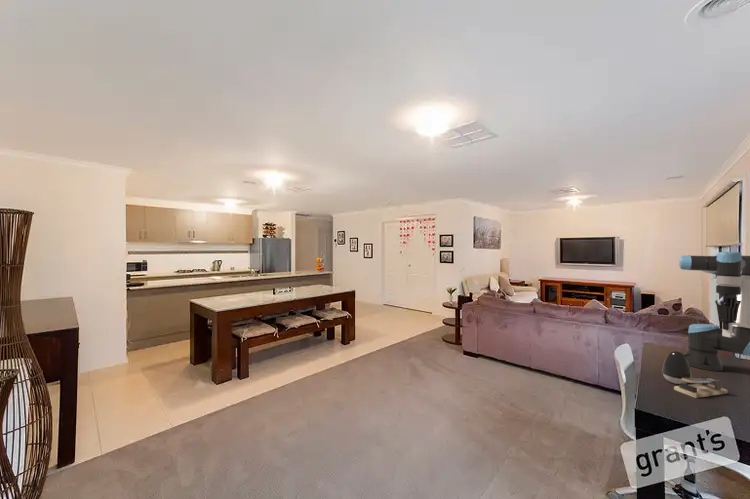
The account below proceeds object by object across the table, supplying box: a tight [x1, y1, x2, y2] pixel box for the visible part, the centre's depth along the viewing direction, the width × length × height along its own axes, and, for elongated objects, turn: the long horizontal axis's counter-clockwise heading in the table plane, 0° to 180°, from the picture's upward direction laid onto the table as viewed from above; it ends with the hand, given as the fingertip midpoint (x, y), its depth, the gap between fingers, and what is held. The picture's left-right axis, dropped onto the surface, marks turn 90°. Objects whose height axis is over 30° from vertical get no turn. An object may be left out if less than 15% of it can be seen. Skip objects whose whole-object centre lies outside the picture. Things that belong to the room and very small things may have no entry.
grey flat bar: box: [682, 377, 716, 384], centre depth 141 cm, size 17×3×1 cm, turn 105°
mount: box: [673, 375, 728, 399], centre depth 141 cm, size 20×8×6 cm, turn 105°
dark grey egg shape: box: [661, 350, 692, 385], centre depth 151 cm, size 10×10×15 cm
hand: (727, 336), depth 144 cm, fingers closed
